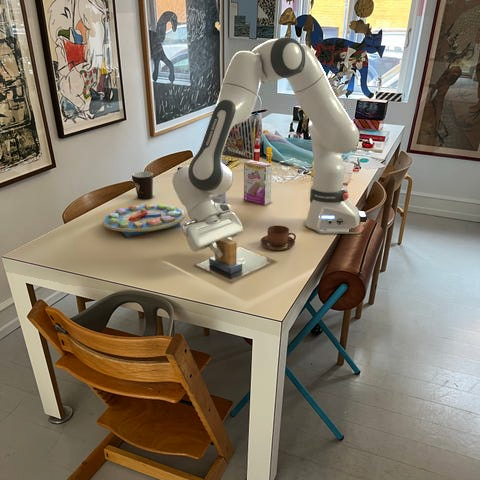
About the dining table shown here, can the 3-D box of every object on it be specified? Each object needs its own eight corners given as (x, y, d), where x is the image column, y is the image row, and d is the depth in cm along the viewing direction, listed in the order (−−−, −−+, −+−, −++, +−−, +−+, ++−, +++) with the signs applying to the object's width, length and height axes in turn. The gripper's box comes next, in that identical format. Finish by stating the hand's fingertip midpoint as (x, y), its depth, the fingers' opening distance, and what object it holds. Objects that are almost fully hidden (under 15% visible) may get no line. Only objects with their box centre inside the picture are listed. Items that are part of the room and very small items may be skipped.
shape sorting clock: (167, 205, 201) (166, 191, 198) (197, 229, 179) (197, 214, 176) (94, 218, 189) (92, 203, 185) (117, 246, 166) (115, 229, 163)
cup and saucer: (290, 238, 172) (291, 222, 169) (298, 252, 162) (299, 235, 159) (257, 240, 171) (257, 223, 167) (263, 254, 161) (264, 237, 157)
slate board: (239, 247, 165) (239, 246, 165) (274, 262, 156) (274, 260, 155) (195, 266, 153) (195, 264, 153) (230, 282, 144) (230, 281, 143)
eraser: (209, 263, 153) (208, 237, 148) (220, 259, 156) (220, 233, 151) (230, 274, 147) (231, 246, 142) (242, 269, 150) (242, 242, 145)
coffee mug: (157, 199, 208) (154, 176, 203) (137, 201, 206) (134, 178, 200) (151, 191, 217) (148, 169, 212) (132, 193, 215) (129, 171, 209)
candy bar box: (243, 200, 206) (243, 162, 198) (249, 197, 210) (250, 159, 201) (264, 206, 201) (265, 166, 192) (271, 202, 204) (272, 163, 195)
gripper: (183, 219, 141) (206, 260, 140) (233, 203, 153) (254, 240, 152) (175, 229, 146) (197, 268, 145) (223, 213, 158) (244, 249, 157)
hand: (227, 254), depth 149 cm, fingers closed on eraser, 3 cm apart
